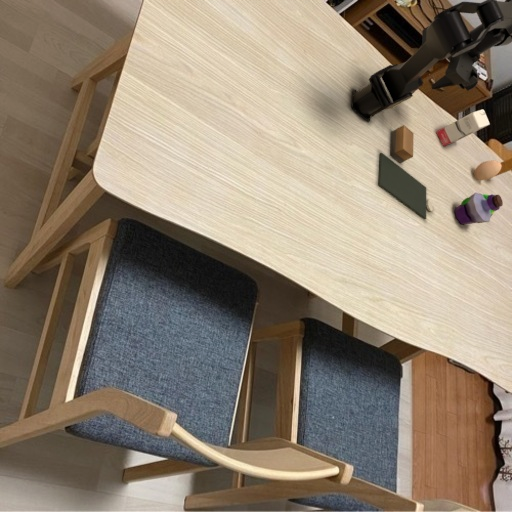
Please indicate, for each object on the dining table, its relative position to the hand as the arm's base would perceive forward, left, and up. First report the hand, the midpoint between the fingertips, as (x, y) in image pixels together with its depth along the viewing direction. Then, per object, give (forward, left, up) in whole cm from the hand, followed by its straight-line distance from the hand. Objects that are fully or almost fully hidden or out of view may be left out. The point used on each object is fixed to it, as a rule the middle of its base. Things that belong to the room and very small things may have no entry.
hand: (420, 77), depth 142 cm
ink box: (+28, +7, -12) cm, 31 cm away
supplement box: (+49, +6, -12) cm, 51 cm away
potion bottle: (+34, -18, -12) cm, 40 cm away
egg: (+43, +2, -12) cm, 45 cm away
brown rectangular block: (+6, -12, -12) cm, 18 cm away
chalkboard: (+9, -23, -12) cm, 27 cm away
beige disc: (+19, -23, -12) cm, 32 cm away
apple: (+44, -10, -12) cm, 47 cm away
